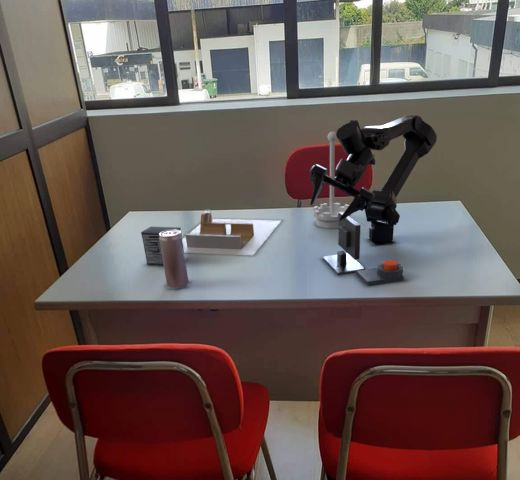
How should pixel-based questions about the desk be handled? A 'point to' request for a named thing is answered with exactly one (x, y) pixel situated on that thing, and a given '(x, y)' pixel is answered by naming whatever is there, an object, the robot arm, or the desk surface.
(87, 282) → the desk surface
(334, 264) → the monitor stand
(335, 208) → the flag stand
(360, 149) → the robot arm
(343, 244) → the screen
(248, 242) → the walled white board
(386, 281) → the console
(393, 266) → the power button
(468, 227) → the desk surface
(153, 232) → the small box
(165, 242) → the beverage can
